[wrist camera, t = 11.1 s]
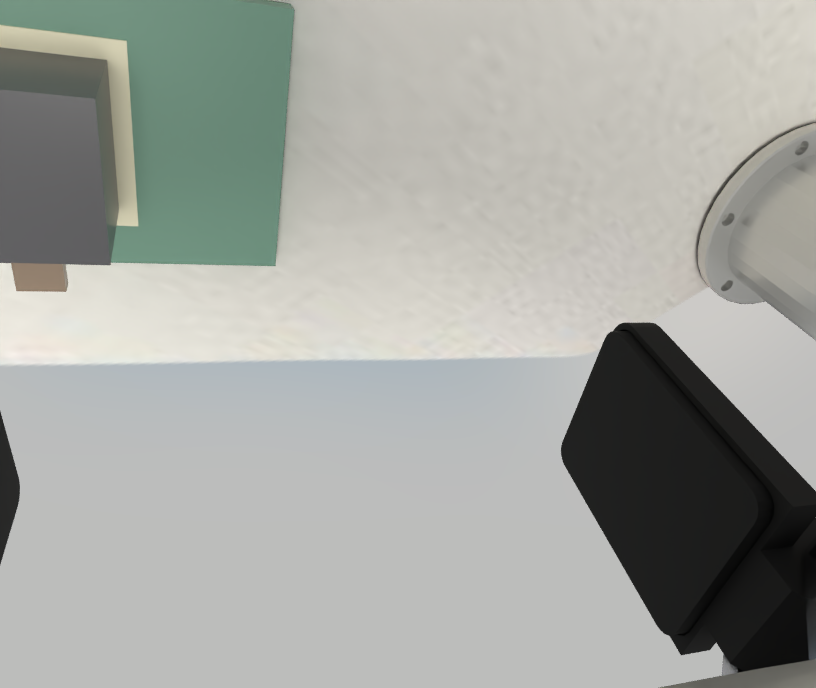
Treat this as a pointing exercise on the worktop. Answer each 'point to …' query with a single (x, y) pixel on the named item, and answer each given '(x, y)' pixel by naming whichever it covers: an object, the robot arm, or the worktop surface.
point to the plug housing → (55, 166)
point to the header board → (182, 117)
